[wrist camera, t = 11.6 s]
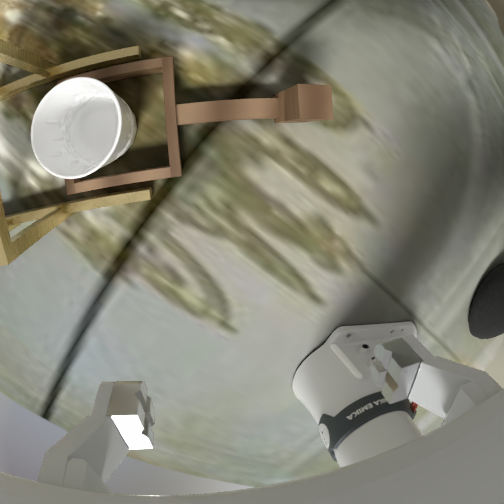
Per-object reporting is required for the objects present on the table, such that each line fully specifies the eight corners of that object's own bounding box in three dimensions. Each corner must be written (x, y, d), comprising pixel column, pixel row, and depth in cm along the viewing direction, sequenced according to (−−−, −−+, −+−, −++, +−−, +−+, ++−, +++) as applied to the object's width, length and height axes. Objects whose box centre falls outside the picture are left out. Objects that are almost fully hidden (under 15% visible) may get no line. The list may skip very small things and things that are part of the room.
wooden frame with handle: (296, 57, 28) (326, 38, 21) (303, 162, 33) (334, 170, 25) (65, 84, 25) (32, 72, 17) (75, 190, 29) (44, 207, 22)
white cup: (85, 88, 26) (46, 72, 16) (152, 101, 28) (135, 85, 19) (66, 158, 28) (22, 168, 19) (131, 173, 30) (106, 188, 21)
